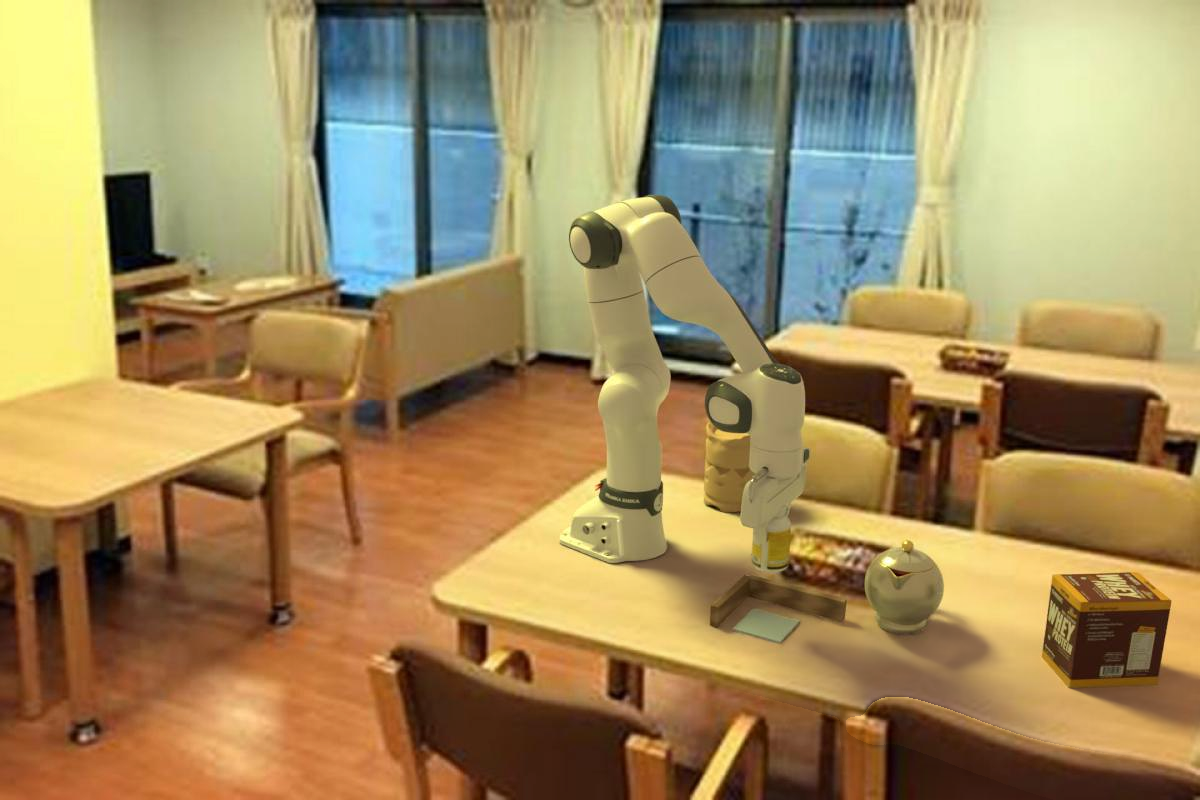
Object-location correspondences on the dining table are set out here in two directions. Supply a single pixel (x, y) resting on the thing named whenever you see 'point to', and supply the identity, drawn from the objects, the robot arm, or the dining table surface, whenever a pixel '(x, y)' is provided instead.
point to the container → (726, 468)
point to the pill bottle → (773, 545)
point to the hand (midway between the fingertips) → (771, 534)
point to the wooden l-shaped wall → (776, 599)
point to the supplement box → (1105, 629)
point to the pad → (766, 625)
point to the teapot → (903, 589)
